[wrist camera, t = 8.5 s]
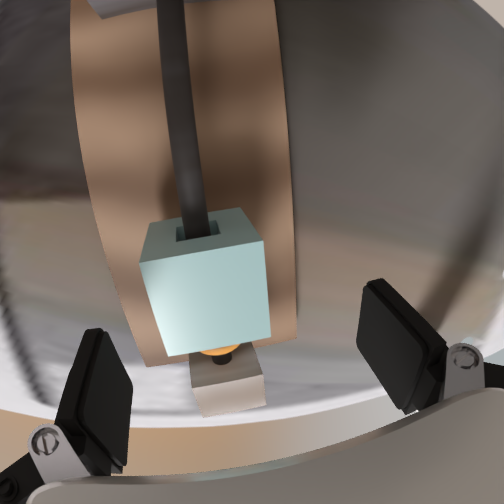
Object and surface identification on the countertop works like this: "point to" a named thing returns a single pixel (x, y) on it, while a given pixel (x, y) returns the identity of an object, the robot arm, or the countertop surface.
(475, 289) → the countertop surface
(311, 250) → the countertop surface
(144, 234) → the linear slide rail
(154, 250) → the sleeve
